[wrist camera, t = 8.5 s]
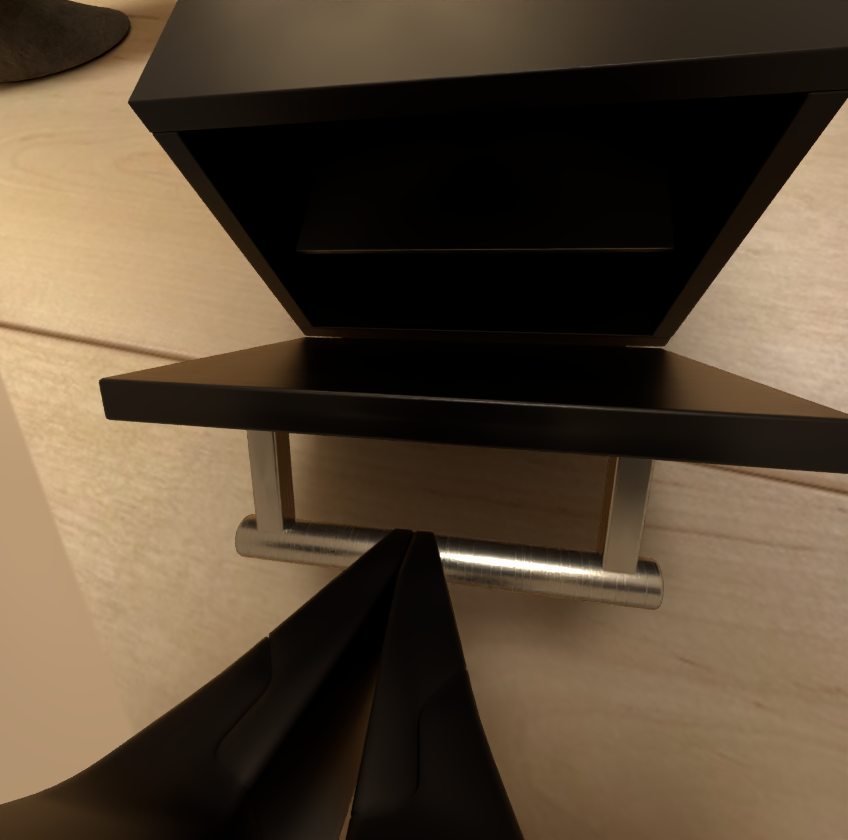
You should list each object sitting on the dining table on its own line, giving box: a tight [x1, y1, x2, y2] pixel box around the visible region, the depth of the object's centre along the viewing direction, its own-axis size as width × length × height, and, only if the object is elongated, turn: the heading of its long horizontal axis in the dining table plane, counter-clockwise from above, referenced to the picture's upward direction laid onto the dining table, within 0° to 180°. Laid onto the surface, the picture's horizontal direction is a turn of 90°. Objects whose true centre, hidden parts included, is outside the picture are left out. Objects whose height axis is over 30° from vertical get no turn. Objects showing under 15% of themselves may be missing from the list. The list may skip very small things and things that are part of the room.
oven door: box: [99, 337, 848, 610], centre depth 14 cm, size 5×15×11 cm
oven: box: [128, 0, 848, 347], centre depth 17 cm, size 13×16×13 cm
